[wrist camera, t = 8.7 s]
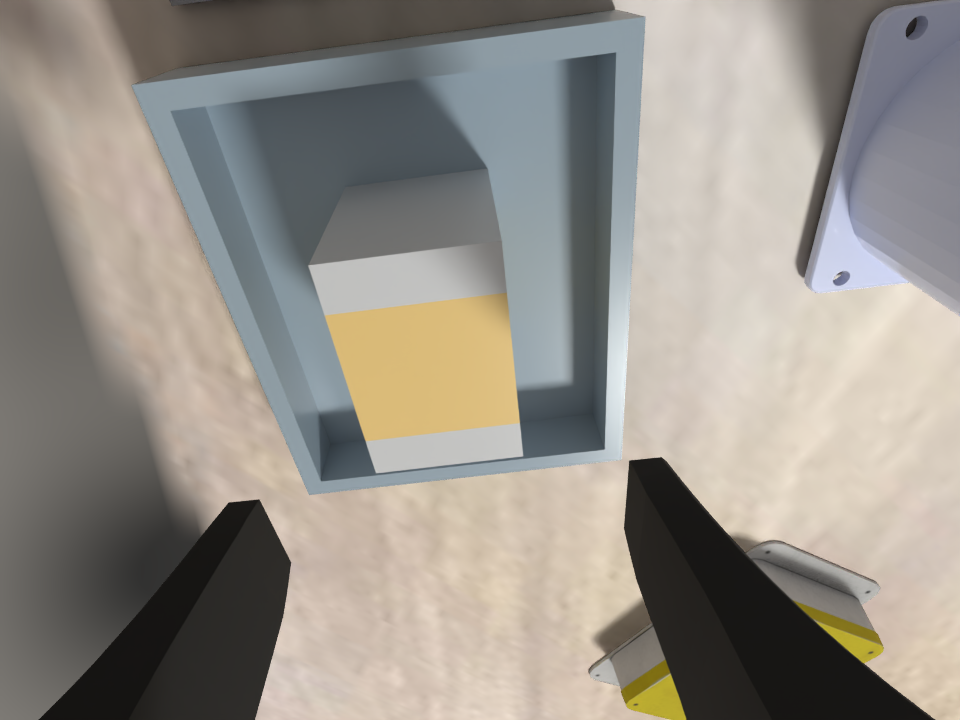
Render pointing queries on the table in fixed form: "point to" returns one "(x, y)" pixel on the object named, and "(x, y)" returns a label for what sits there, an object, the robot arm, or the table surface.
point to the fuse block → (185, 1)
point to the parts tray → (411, 154)
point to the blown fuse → (422, 319)
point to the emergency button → (802, 577)
